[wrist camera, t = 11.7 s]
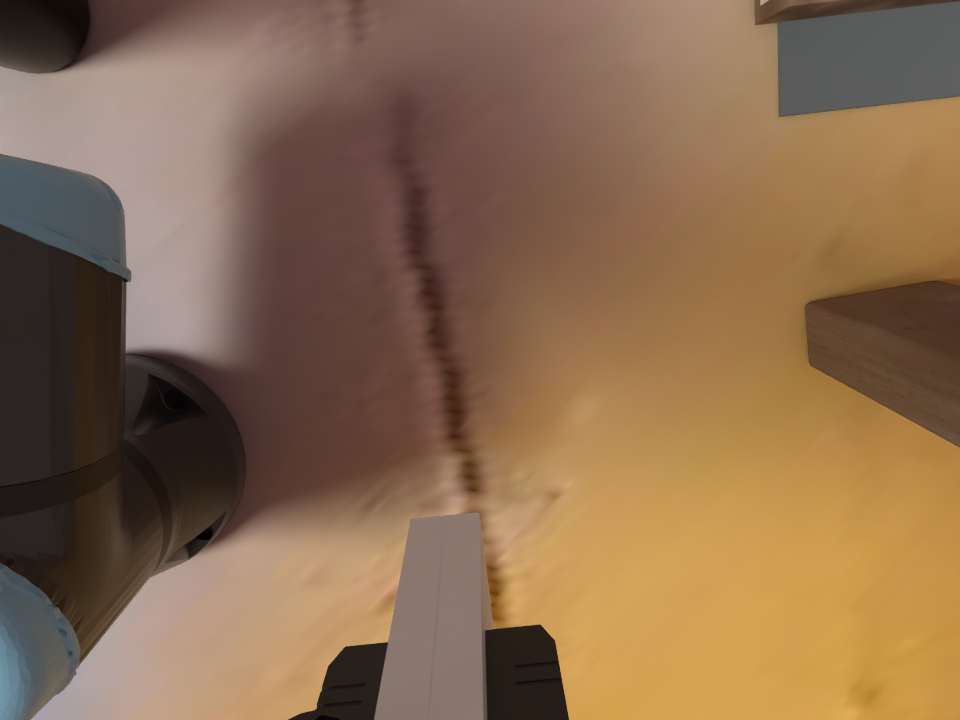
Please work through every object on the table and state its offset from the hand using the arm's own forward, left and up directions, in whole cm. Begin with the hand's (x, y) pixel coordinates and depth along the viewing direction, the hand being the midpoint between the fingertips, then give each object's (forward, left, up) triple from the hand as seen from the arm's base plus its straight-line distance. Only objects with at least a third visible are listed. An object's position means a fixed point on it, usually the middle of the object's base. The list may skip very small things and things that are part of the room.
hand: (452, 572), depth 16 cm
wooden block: (+27, -4, -35) cm, 44 cm away
